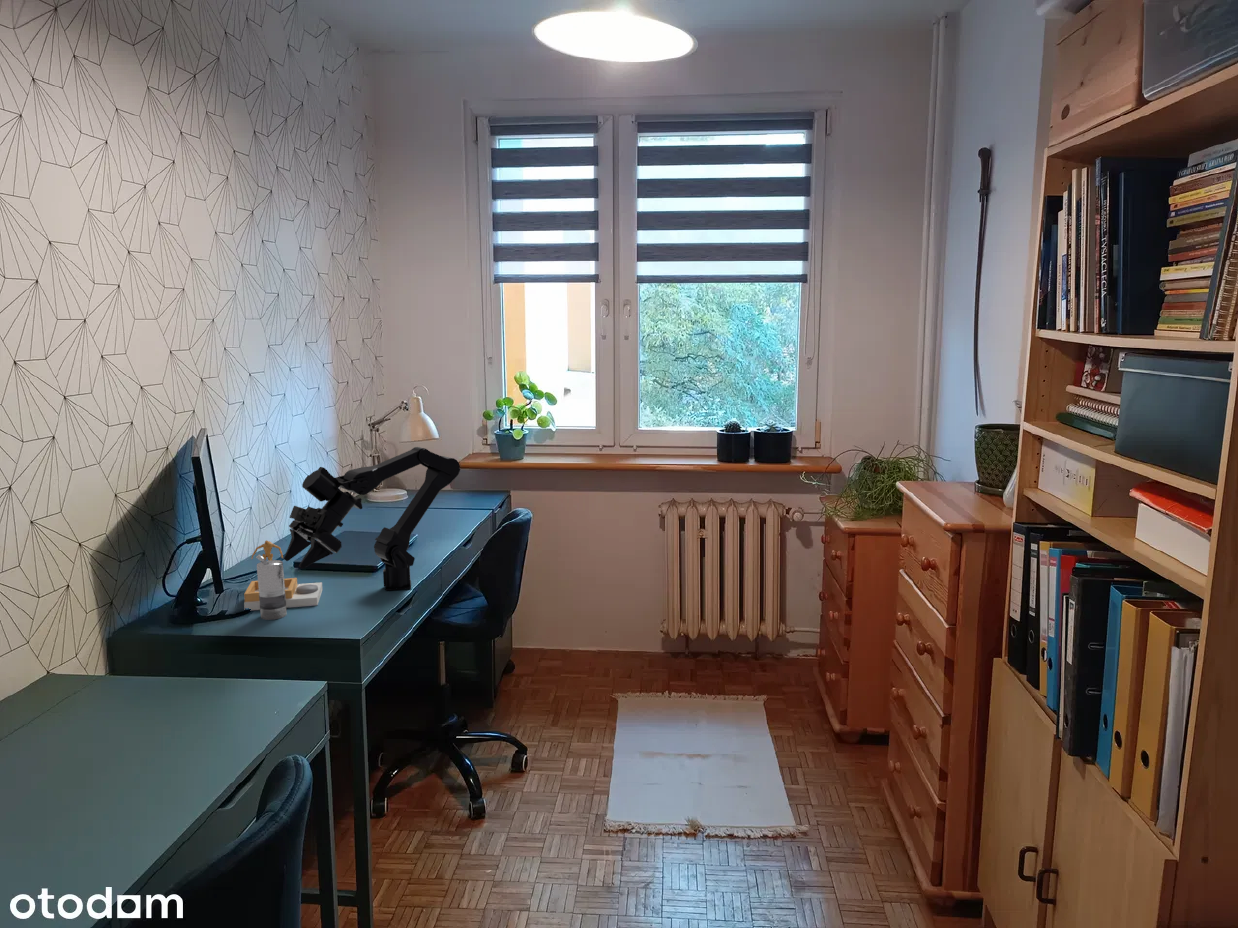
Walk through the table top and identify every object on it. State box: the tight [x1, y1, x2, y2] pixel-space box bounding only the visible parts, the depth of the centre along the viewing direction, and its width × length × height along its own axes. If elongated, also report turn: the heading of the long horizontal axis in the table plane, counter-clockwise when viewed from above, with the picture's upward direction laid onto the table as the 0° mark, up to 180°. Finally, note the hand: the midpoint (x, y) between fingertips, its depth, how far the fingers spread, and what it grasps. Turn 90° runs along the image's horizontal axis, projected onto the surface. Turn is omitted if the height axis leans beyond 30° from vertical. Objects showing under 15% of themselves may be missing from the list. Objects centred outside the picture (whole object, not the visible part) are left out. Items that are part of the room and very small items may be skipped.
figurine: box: [251, 540, 284, 561], centre depth 238 cm, size 8×6×12 cm
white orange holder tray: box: [243, 577, 323, 611], centre depth 225 cm, size 17×13×4 cm
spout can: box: [255, 553, 287, 621], centre depth 213 cm, size 6×6×16 cm
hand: (292, 563), depth 215 cm, fingers open, 9 cm apart
